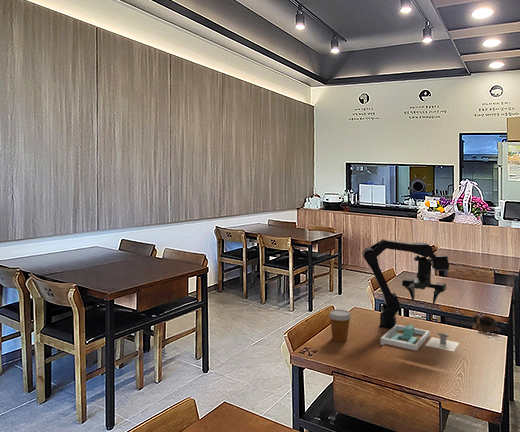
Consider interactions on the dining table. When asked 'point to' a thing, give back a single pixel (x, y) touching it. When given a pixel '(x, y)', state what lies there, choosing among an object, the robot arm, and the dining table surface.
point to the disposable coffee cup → (339, 324)
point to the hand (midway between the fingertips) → (423, 302)
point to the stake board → (437, 344)
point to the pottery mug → (485, 323)
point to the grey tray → (387, 340)
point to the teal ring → (406, 335)
